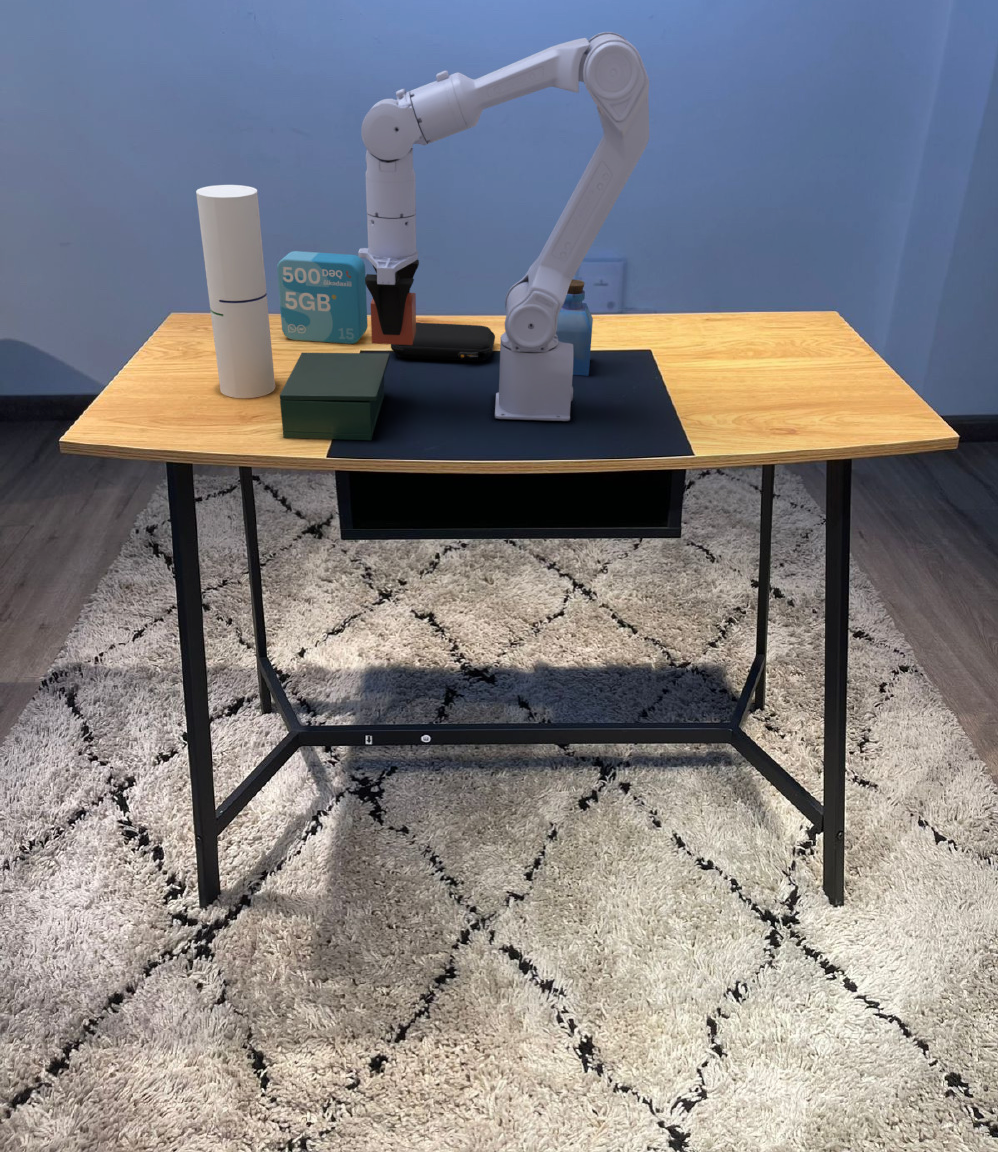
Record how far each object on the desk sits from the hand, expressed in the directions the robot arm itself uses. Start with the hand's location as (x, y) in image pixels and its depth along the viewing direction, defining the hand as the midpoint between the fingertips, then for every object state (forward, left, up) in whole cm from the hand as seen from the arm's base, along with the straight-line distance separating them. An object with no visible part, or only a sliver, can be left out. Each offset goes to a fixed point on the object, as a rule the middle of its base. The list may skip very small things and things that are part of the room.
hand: (394, 326), depth 127 cm
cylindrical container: (+20, -4, -11) cm, 23 cm away
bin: (+7, +4, -10) cm, 13 cm away
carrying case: (-5, -20, -11) cm, 23 cm away
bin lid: (+7, +4, -5) cm, 9 cm away
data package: (+13, -25, -11) cm, 30 cm away
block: (0, 0, -1) cm, 1 cm away
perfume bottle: (-23, -16, -11) cm, 30 cm away
